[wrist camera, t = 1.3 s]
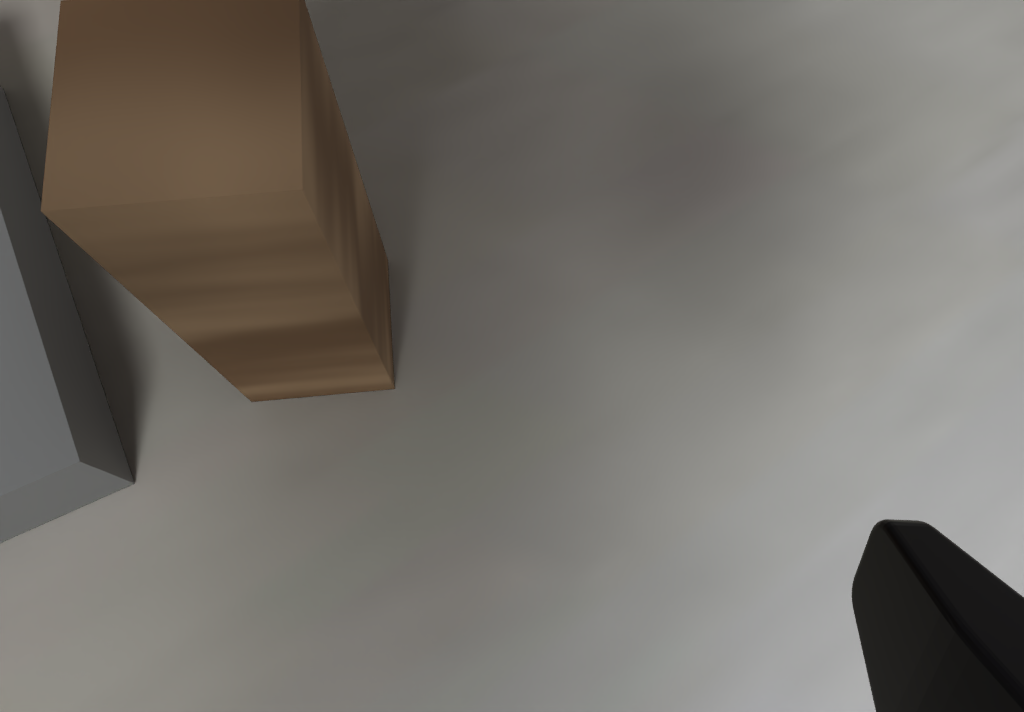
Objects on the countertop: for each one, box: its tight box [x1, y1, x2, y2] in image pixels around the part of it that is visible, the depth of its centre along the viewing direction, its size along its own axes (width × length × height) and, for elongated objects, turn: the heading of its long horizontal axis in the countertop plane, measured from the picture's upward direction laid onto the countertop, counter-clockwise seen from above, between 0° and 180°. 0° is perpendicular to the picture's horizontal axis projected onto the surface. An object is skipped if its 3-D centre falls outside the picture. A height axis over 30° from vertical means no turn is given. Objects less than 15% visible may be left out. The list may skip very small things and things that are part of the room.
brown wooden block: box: [41, 0, 395, 402], centre depth 19 cm, size 4×4×11 cm
